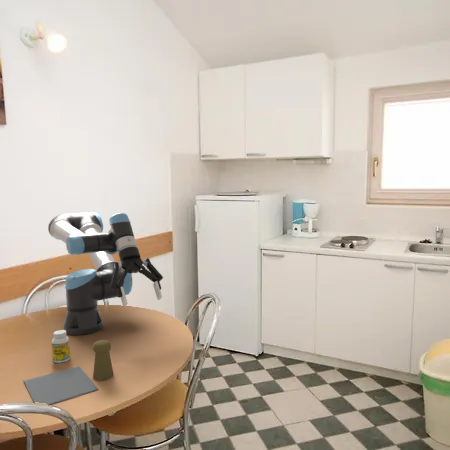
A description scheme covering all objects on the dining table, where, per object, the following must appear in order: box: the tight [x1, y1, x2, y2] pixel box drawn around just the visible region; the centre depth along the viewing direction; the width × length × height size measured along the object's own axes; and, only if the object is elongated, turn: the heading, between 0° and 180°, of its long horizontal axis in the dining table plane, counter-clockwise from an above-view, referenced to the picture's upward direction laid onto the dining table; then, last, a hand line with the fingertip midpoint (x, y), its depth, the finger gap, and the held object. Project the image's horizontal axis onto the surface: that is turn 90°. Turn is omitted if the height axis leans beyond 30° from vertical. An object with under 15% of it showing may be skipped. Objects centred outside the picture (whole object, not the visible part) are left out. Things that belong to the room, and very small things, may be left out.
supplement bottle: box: [51, 329, 71, 364], centre depth 133 cm, size 5×5×10 cm
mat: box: [23, 365, 99, 405], centre depth 116 cm, size 18×16×1 cm
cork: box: [92, 339, 114, 382], centre depth 121 cm, size 6×6×11 cm
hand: (143, 301), depth 146 cm, fingers open, 13 cm apart
